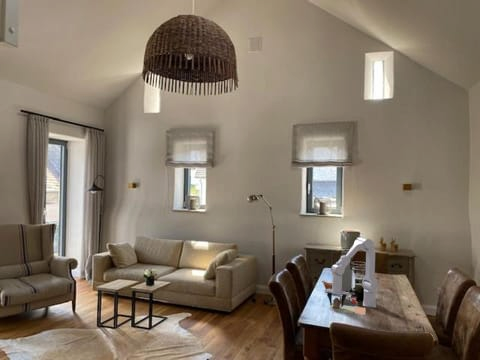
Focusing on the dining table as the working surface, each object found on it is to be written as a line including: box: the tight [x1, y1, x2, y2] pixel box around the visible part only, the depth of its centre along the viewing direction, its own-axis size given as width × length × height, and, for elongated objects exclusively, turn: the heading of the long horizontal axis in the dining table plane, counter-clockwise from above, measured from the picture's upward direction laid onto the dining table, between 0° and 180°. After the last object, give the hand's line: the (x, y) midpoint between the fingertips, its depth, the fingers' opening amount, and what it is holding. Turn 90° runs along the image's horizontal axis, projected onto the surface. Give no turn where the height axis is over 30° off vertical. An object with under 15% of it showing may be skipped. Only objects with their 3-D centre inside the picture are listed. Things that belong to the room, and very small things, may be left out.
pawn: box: [332, 297, 341, 309], centre depth 228 cm, size 4×4×6 cm
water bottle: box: [340, 250, 355, 292], centre depth 269 cm, size 10×10×28 cm
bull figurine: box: [321, 279, 336, 295], centre depth 261 cm, size 4×13×8 cm, turn 45°
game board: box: [329, 303, 367, 316], centre depth 226 cm, size 15×21×1 cm
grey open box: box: [338, 295, 358, 307], centre depth 238 cm, size 7×11×4 cm, turn 70°
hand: (336, 305), depth 228 cm, fingers open, 6 cm apart
